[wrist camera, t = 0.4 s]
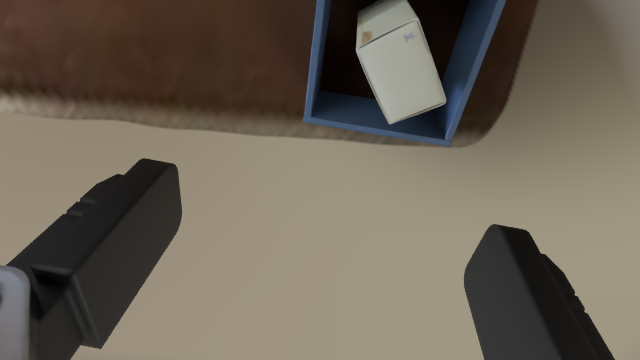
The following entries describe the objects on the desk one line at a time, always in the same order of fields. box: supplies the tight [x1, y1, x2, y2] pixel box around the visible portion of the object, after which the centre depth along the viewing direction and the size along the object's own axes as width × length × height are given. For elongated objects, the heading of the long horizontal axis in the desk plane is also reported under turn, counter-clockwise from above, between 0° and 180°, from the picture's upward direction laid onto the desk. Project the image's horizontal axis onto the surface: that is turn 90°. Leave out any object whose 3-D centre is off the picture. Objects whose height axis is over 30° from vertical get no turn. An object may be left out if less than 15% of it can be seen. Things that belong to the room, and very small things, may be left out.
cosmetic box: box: [356, 0, 446, 124], centre depth 28 cm, size 6×4×12 cm
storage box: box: [304, 0, 506, 146], centre depth 30 cm, size 14×13×7 cm
